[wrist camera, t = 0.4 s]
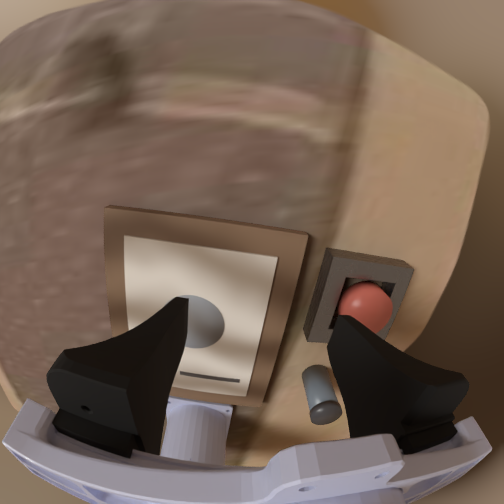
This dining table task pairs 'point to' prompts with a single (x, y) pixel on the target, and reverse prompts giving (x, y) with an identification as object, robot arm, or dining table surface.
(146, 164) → the dining table surface
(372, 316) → the button
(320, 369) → the gray capped cylinder
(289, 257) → the drawing board
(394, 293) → the button housing
